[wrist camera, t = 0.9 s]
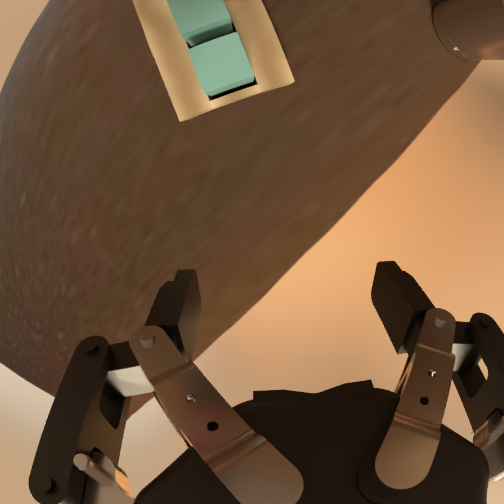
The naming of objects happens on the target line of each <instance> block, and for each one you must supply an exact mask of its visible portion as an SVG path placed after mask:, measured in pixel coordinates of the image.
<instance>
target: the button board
mask: <svg viewBox="0 0 504 504" xmlns="http://www.w3.org/2000/svg"><path fill="white" fill-rule="evenodd" d="M223 1H224V3H225V6H226V8H227V10H228V12H229V15H230V17H231V22H232V27H233V29H234V31H235V32H237V33H238V36H239V38H240V40H241V43H242V45H243V48H244V50H245V53H246V55H247V58H248V60H249V63H250V65H251V68H252V70H253V73H254V75H255V77H254V81H255V84H256V85H254V86H251V87H248V88H245V89H242V90H239V91H236V92H233V93H231V94H228V95H225V96H222V97H220V98H217V99H214V100H213V98H212V96H210V95H207V94H204V92H203V90H202V87H201V85H200V82H199V79H198V77H197V74H196V72H195V69H194V67H193V64H192V62H191V60H190V57H189V55H188V52H187V50H188V49H190V48H192V46H191V45H190V44H189V43H188V42H187V41H186V40H185V39H184V38H183V37H182V36H181V35H180V32H179V30H178V27H177V25H176V23H175V20H174V18H173V15H172V13H171V10H170V8H169V5H168V3H167V1H166V0H132V2H133V5H134V7H135V10H136V13H137V15H138V16H139V19H140V22H141V24H142V27H143V29H144V32H145V36H146V39H147V41H148V44H149V47H150V49H151V52H152V54H153V57H154V58H155V60H156V63H157V65H158V68H159V70H160V73H161V75H162V78H163V82H164V85H165V87H166V90H167V92H168V95H169V97H170V100H171V102H172V105H173V106H174V108H175V110H176V113H177V115H178V118H179V120H180V121H184V120H188V119H191V118H193V117H195V116H198V115H200V114H203V113H205V112H208V111H211V110H213V109H216V108H218V107H221V106H224V105H227V104H229V103H232V102H235V101H238V100H241V99H244V98H247V97H250V96H253V95H256V94H259V93H262V92H265V91H269V90H272V89H276V88H279V87H283V86H286V85H289V84H291V83H293V82H295V81H294V79H293V76H292V73H291V70H290V68H289V65H288V62H287V60H286V57H285V55H284V52H283V50H282V47H281V45H280V42H279V40H278V37H277V35H276V32H275V30H274V28H273V25H272V23H271V21H270V18H269V16H268V14H267V12H266V9H265V7H264V5H263V3H262V1H261V0H223Z"/></svg>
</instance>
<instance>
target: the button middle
mask: <svg viewBox="0 0 504 504" xmlns="http://www.w3.org/2000/svg"><path fill="white" fill-rule="evenodd" d="M166 1H167V3H168V5H169V8H170V10H171V13H172V15H173V18H174V20H175V23H176V25H177V27H178V30H179V32H180V35H181V36H182V37H183V38H184V39H185V40H186V41H187V42H188V43H189V44H190V45H191V46H192V47H195V46H198V45H200V44H203V43H205V42H208V41H211V40H214V39H216V38H219V37H222V36H225V35H228V34H231V33H233V28H232V22H231V17H230V15H229V12H228V10H227V8H226V6H225V3H224V1H223V0H166Z"/></svg>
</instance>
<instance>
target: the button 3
mask: <svg viewBox="0 0 504 504" xmlns="http://www.w3.org/2000/svg"><path fill="white" fill-rule="evenodd" d="M187 52H188V55H189V57H190V60H191V62H192V64H193V67H194V69H195V72H196V74H197V77H198V79H199V82H200V85H201V87H202V90H203V92H204V94H207V95H210V96H214V95H217V94H220V93H222V92H225V91H228V90H231V89H234V88H237V87H240V86H242V85H246V84H249V83H252V82H253V81H254V77H255V75H254V73H253V70H252V68H251V65H250V63H249V60H248V58H247V55H246V53H245V50H244V48H243V45H242V43H241V40H240V38H239V36H238V33H237V32H234V33H231V34H228V35H225V36H222V37H219V38H216V39H214V40H211V41H208V42H205V43H203V44H200V45H198V46H195V47H193V48H190V49H188V50H187Z"/></svg>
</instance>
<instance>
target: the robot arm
mask: <svg viewBox="0 0 504 504" xmlns="http://www.w3.org/2000/svg"><path fill="white" fill-rule="evenodd" d="M433 23H434V27H435V30H436V32H437V35H438V37H439V38H440V40H441V42H442V43H443V45H444V46H445V47H446V48H447V49H448V50H449V51H450V52H451V53H452V54H453V55H455V56H456V57H458V58H460V59H463V60H504V0H447V1H444V2H441V3H439V4H438V5H436V7H435V8H434V11H433ZM371 299H372V302H373V305H374V307H375V309H376V311H377V313H378V315H379V317H380V319H381V321H382V323H383V325H384V327H385V329H386V331H387V333H388V335H389V337H390V340H391V342H392V344H393V346H394V348H395V350H396V352H397V354H402V353H408V355H409V356H408V358H407V360H406V362H405V365H404V368H403V371H402V373H401V376H400V379H399V381H398V384H397V386H396V389H395V391H394V392H391V391H389V390H385V389H380V388H374V387H373V384H372V381H371V380H366V381H359V382H352V383H346V384H342V385H340V386H336V387H334V388H331V389H328V390H325V391H323V392H320V393H305V392H297V391H289V390H268V391H253V400H250V401H246V402H243V403H240V404H238V405H236V406H234V407H231V406H230V405H229V404H228V403H227V402H226V401H225V399H224V398H223V397H222V396H221V395H220V394H219V393H218V392H217V390H216V389H215V388H214V387H213V386H212V384H211V383H210V382H209V381H208V380H207V379H206V377H205V376H204V375H203V374H202V372H201V371H200V370H199V369H198V367H197V366H196V365H195V364H194V363H193V362H192V357H193V351H194V346H195V341H196V336H197V330H198V325H199V320H200V315H201V295H200V290H199V284H198V278H197V273H196V270H195V269H190V270H178V271H177V274H176V276H175V279H174V281H167V282H166V283H165V284H164V285H163V286H162V287H161V288H160V289H159V291H158V293H157V296H156V298H155V301H154V305H153V306H152V308H151V311H150V313H149V316H148V318H147V321H146V323H145V326H144V327H141V328H139V329H137V330H136V331H135V332H133V333H132V335H131V336H130V339H129V341H126V342H122V343H116V344H111V345H109V344H108V341H107V340H106V339H105V338H104V337H102V336H91V337H88V338H86V339H84V340H83V341H81V342H80V343H79V344H78V346H77V348H76V350H75V352H74V354H73V356H72V359H71V361H70V363H69V365H68V368H67V370H66V372H65V375H64V377H63V379H62V382H61V384H60V387H59V389H58V392H57V394H56V397H55V399H54V402H53V405H52V407H51V410H50V413H49V415H48V418H47V421H46V424H45V427H44V430H43V432H42V436H41V439H40V442H39V445H38V449H37V452H36V455H35V458H34V462H33V465H32V469H31V473H30V476H29V489H30V492H31V494H32V496H33V497H34V499H35V500H37V501H38V502H39V503H40V504H487V502H486V501H487V500H486V499H487V488H488V482H489V481H490V480H494V481H499V480H502V479H504V334H503V332H502V331H501V329H500V328H499V326H498V325H497V323H496V322H495V321H494V319H493V318H492V317H490V316H489V315H487V314H484V313H475V314H473V315H472V317H471V319H470V321H469V322H459V321H455V318H454V317H453V315H452V314H451V313H449V312H448V311H446V310H443V309H440V308H435V307H434V305H433V304H432V302H431V301H430V299H429V298H428V297H427V295H426V294H425V293H424V291H422V288H421V287H420V286H419V285H418V283H417V282H416V280H415V279H414V278H413V277H412V276H411V275H410V274H408V273H407V272H405V271H402V270H401V269H400V267H399V266H398V265H397V264H396V262H395V261H384V262H378V263H377V266H376V271H375V276H374V281H373V285H372V291H371ZM481 358H482V359H483V361H484V363H485V365H486V367H487V369H488V378H487V380H486V379H485V377H484V375H483V373H482V371H481V369H480V367H479V366H478V362H479V361H480V359H481ZM452 380H453V382H454V384H455V386H456V389H457V391H458V394H459V396H460V398H461V401H462V403H463V406H464V408H465V411H466V413H467V416H468V418H469V421H470V424H471V426H472V429H473V432H474V436H473V443H471V442H470V441H468V440H467V439H465V438H463V437H462V436H460V435H459V434H457V433H456V432H454V431H453V430H451V429H449V428H448V427H446V426H445V425H443V424H442V423H441V422H442V419H443V415H444V411H445V407H446V403H447V399H448V395H449V390H450V386H451V381H452ZM148 392H152V393H153V395H154V396H155V398H156V400H157V401H158V403H159V405H160V406H161V408H162V409H163V411H164V413H165V414H166V416H167V417H168V419H169V420H170V422H171V424H172V425H173V427H174V428H175V430H176V432H177V433H178V435H179V436H180V438H181V439H182V441H183V442H184V444H185V445H186V446H187V448H188V449H187V450H186V451H185V452H184V453H183V454H182V455H181V456H179V457H178V458H177V459H176V460H175V461H174V462H173V463H172V464H171V465H170V466H169V467H167V468H166V469H165V470H164V471H163V472H162V473H161V474H160V475H158V476H157V477H156V478H155V479H154V480H153V481H151V482H150V483H149V484H148V485H147V486H146V487H145V488H143V489H142V490H141V491H140V493H139V494H138V495H137V497H136V498H134V497H133V496H132V494H131V492H130V489H129V480H128V477H127V475H126V473H125V472H124V471H123V470H122V469H121V468H120V467H119V466H118V461H119V456H120V450H121V445H122V439H123V434H124V429H125V424H126V420H127V415H128V410H129V406H130V401H131V397H132V395H138V394H143V393H148Z"/></svg>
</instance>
